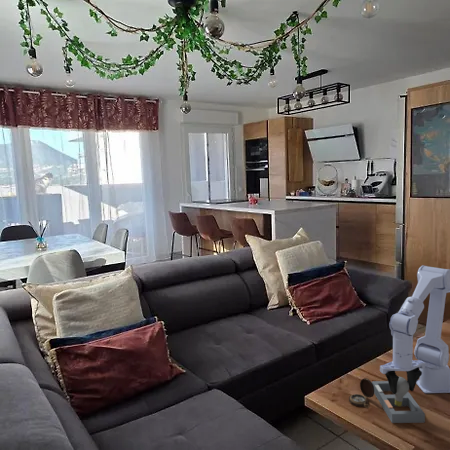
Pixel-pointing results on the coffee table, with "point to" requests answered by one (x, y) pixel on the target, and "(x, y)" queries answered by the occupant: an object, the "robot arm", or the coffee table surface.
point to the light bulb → (401, 390)
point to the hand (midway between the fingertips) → (402, 391)
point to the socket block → (389, 400)
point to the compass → (367, 391)
